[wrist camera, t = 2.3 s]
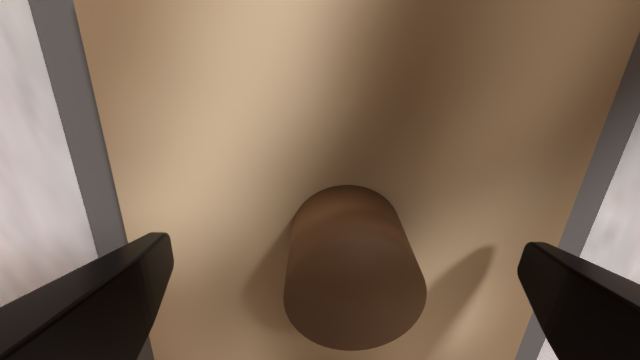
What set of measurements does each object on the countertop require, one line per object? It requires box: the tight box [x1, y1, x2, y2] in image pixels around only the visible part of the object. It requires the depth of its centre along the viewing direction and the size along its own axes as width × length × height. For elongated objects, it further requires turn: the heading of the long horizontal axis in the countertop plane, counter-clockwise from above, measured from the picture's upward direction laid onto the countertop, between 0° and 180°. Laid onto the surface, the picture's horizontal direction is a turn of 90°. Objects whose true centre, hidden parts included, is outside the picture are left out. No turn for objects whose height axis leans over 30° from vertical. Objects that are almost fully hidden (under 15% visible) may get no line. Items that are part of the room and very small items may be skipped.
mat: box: [28, 0, 640, 360], centre depth 10 cm, size 15×15×1 cm
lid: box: [73, 0, 640, 360], centre depth 9 cm, size 12×12×3 cm
